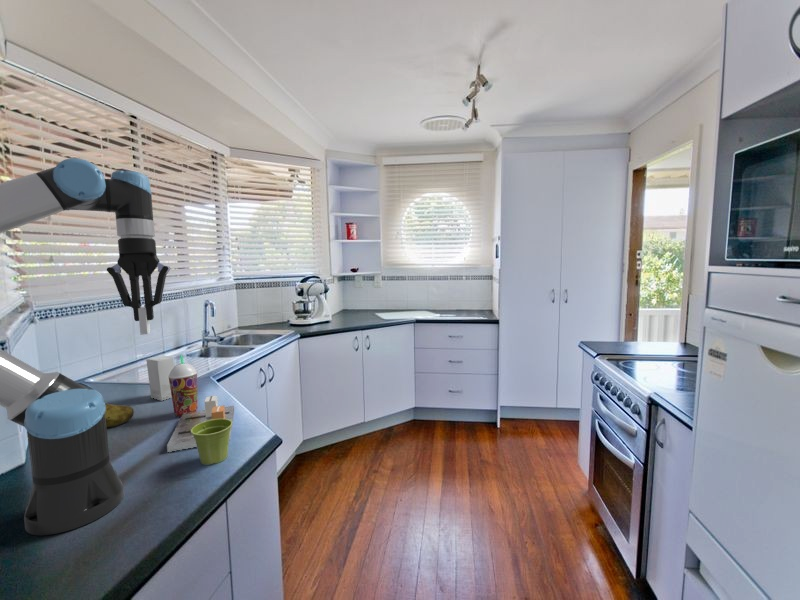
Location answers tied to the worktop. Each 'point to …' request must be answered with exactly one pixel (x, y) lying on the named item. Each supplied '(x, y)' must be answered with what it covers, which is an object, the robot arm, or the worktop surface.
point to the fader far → (210, 405)
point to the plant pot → (212, 440)
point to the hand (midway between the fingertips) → (145, 333)
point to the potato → (117, 414)
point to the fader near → (218, 412)
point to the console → (183, 434)
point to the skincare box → (160, 376)
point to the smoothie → (183, 388)
